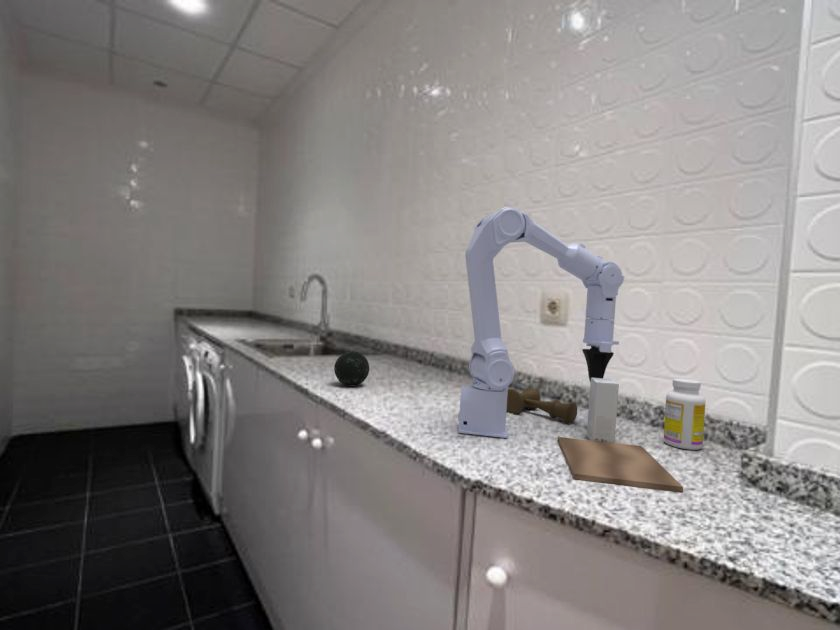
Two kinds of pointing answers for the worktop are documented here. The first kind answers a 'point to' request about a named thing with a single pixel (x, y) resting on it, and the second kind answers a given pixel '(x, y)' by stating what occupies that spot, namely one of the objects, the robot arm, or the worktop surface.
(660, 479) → the walnut board
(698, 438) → the supplement bottle
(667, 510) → the worktop surface
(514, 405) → the kendama
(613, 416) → the skincare box
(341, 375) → the decorative stone
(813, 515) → the worktop surface
